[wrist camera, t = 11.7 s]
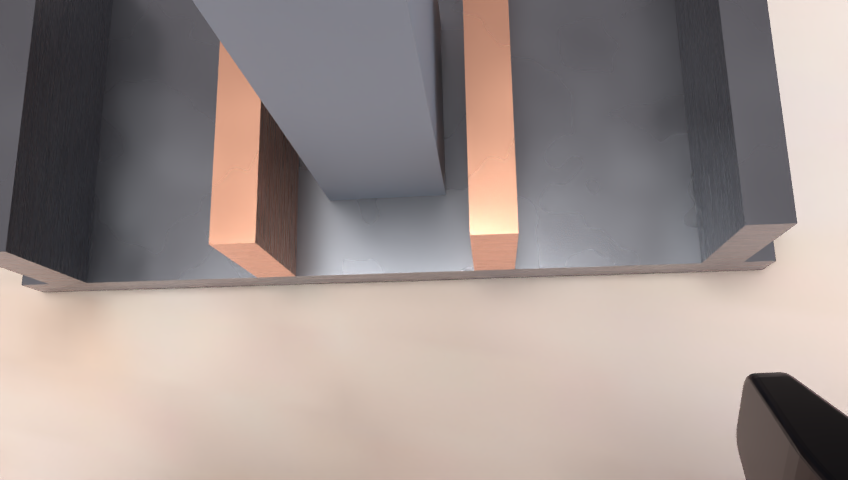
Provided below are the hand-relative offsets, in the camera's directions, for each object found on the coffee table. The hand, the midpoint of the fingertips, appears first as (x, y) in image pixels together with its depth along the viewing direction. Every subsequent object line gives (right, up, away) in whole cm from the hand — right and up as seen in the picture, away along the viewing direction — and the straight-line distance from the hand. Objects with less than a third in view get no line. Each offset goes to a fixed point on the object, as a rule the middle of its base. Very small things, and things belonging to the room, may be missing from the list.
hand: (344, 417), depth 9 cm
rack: (0, +5, +13) cm, 14 cm away
